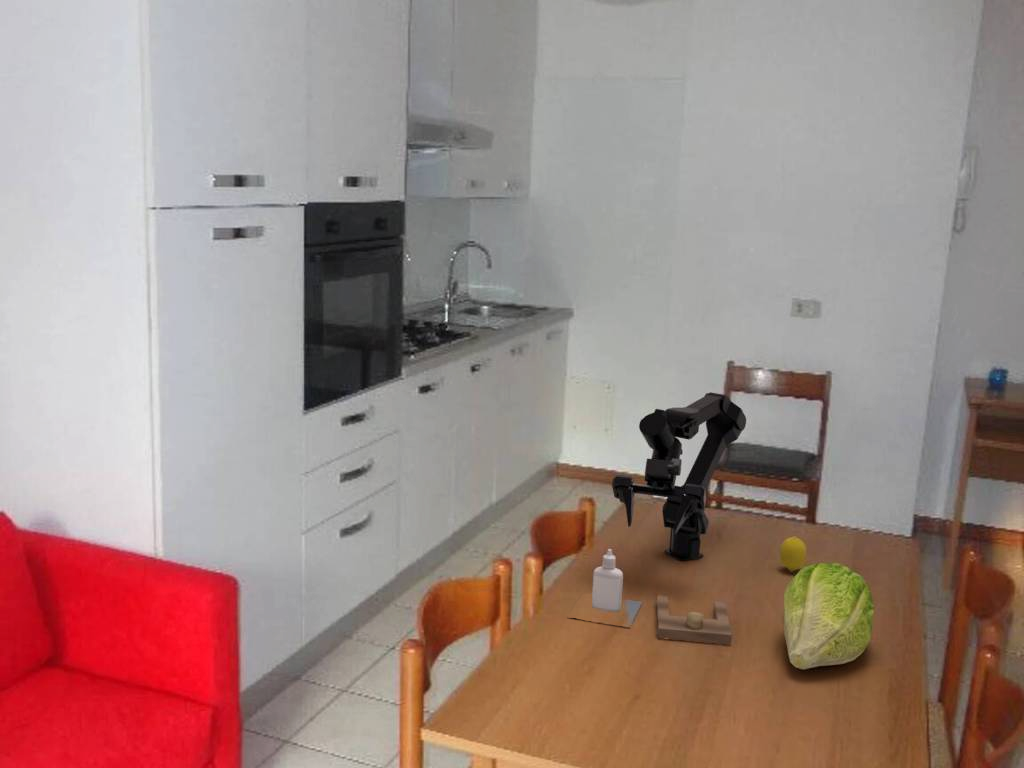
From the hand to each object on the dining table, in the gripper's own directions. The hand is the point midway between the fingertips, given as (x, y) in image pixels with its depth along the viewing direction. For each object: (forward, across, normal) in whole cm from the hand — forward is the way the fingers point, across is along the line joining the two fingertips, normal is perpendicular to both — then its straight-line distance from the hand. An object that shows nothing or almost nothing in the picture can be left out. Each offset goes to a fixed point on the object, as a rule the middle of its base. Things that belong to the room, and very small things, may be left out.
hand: (651, 529), depth 198 cm
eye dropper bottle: (+18, -6, +1) cm, 19 cm away
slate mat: (+18, -6, +1) cm, 19 cm away
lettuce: (+20, +34, 0) cm, 39 cm away
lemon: (-8, +27, +27) cm, 39 cm away
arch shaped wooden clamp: (+18, +11, +2) cm, 21 cm away
